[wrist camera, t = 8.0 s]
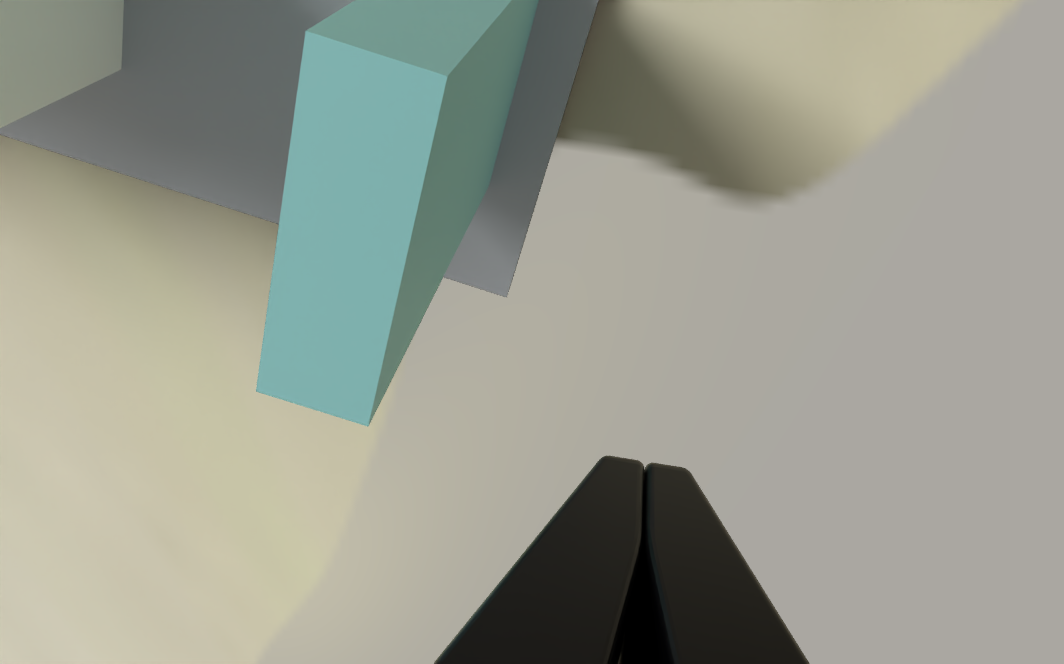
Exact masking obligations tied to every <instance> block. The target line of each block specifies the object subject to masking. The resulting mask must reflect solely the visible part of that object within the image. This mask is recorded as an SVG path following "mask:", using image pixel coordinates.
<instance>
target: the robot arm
mask: <svg viewBox="0 0 1064 664" xmlns="http://www.w3.org/2000/svg"><path fill="white" fill-rule="evenodd" d="M434 664H809V662H808V660H807V659H806V658H805V656H804V654H803V653H802V651H801V649H800V648H799V646H798V644H797V643H796V641H795V640H794V638H793V636H792V635H791V633H790V632H789V630H788V628H787V627H786V625H785V623H784V622H783V620H782V619H781V617H780V616H779V614H778V612H777V611H776V609H775V607H774V606H773V604H772V603H771V601H770V599H769V598H768V596H767V595H766V593H765V591H764V590H763V588H762V587H761V585H760V583H759V582H758V580H757V579H756V577H755V575H754V574H753V572H752V571H751V569H750V567H749V566H748V564H747V563H746V561H745V559H744V558H743V556H742V555H741V553H740V551H739V550H738V548H737V546H736V545H735V543H734V542H733V540H732V539H731V537H730V535H729V534H728V532H727V530H726V529H725V527H724V526H723V524H722V522H721V521H720V519H719V518H718V516H717V515H716V513H715V511H714V510H713V508H712V506H711V505H710V503H709V502H708V500H707V498H706V497H705V495H704V494H703V492H702V490H701V489H700V487H699V485H698V484H697V482H696V481H695V479H694V478H693V476H692V474H691V473H690V472H689V471H688V470H687V469H685V468H682V467H676V466H670V465H663V464H658V463H650V464H648V465H647V466H646V467H645V470H644V466H643V464H642V463H641V462H640V461H638V460H632V459H626V458H620V457H614V456H604V457H602V458H601V459H600V460H599V461H598V462H597V463H596V465H595V466H594V467H593V468H592V470H591V471H590V472H589V473H588V474H587V476H586V477H585V478H584V479H583V481H582V482H581V483H580V484H579V486H578V487H577V488H576V489H575V490H574V492H573V493H572V494H571V495H570V497H569V498H568V499H567V500H566V501H565V503H564V504H563V505H562V507H561V508H560V509H559V510H558V511H557V513H556V514H555V515H554V516H553V517H552V519H551V520H550V521H549V522H548V524H547V525H546V526H545V527H544V529H543V530H542V531H541V532H540V533H539V535H538V536H537V537H536V538H535V540H534V541H533V542H532V543H531V544H530V546H529V547H528V548H527V549H526V551H525V552H524V553H523V554H522V555H521V557H520V558H519V559H518V560H517V562H516V563H515V564H514V565H513V567H512V568H511V569H510V570H509V571H508V573H507V574H506V575H505V577H504V578H503V579H502V580H501V581H500V582H499V584H498V585H497V586H496V587H495V589H494V590H493V591H492V592H491V593H490V595H489V596H488V597H487V598H486V600H485V601H484V602H483V604H482V605H481V606H480V607H479V608H478V609H477V611H476V612H475V613H474V614H473V616H472V617H471V618H470V619H469V621H468V622H467V623H466V624H465V626H464V627H463V628H462V629H461V630H460V632H459V633H458V634H457V635H456V636H455V638H454V639H453V640H452V641H451V643H450V644H449V645H448V646H447V648H446V649H445V650H444V651H443V652H442V654H441V655H440V656H439V657H438V659H437V660H436V661H435V663H434Z"/></svg>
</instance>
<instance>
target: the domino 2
mask: <svg viewBox="0 0 1064 664" xmlns="http://www.w3.org/2000/svg"><path fill="white" fill-rule="evenodd" d="M538 1H539V0H355V1H353V2H351V3H350V4H348V5H347V6H345V7H343V8H342V9H340V10H338V11H337V12H335V13H334V14H332V15H330V16H329V17H327V18H326V19H324V20H322V21H321V22H319V23H317V24H316V25H314V26H313V27H311V28H309V29H308V30H306V32H305V39H304V46H303V54H302V61H301V68H300V75H299V83H298V90H297V97H296V104H295V112H294V119H293V126H292V133H291V141H290V148H289V155H288V163H287V170H286V177H285V184H284V192H283V199H282V206H281V213H280V221H279V228H278V235H277V242H276V250H275V257H274V264H273V271H272V279H271V286H270V293H269V300H268V308H267V315H266V322H265V329H264V337H263V344H262V351H261V359H260V366H259V373H258V380H257V388H256V392H259V393H263V394H266V395H269V396H272V397H275V398H279V399H282V400H285V401H288V402H291V403H295V404H298V405H301V406H304V407H307V408H311V409H314V410H317V411H320V412H324V413H327V414H330V415H333V416H336V417H340V418H343V419H346V420H349V421H352V422H356V423H359V424H362V425H365V426H369V424H370V422H371V420H372V418H373V416H374V414H375V412H376V410H377V408H378V406H379V404H380V402H381V400H382V398H383V396H384V394H385V392H386V390H387V388H388V386H389V384H390V382H391V380H392V378H393V376H394V374H395V372H396V370H397V368H398V366H399V364H400V362H401V360H402V358H403V356H404V354H405V352H406V350H407V348H408V346H409V344H410V342H411V340H412V338H413V336H414V334H415V332H416V330H417V328H418V326H419V324H420V322H421V320H422V318H423V316H424V314H425V312H426V310H427V308H428V306H429V304H430V302H431V300H432V298H433V296H434V294H435V292H436V290H437V288H438V286H439V284H440V282H441V280H442V278H443V276H444V274H445V272H446V270H447V268H448V266H449V264H450V262H451V260H452V258H453V256H454V254H455V252H456V250H457V249H458V247H459V245H460V243H461V241H462V239H463V237H464V235H465V233H466V231H467V229H468V227H469V225H470V223H471V221H472V219H473V217H474V215H475V213H476V211H477V209H478V207H479V205H480V203H481V201H482V199H483V197H484V195H485V193H486V191H487V189H488V187H489V184H490V180H491V176H492V172H493V169H494V165H495V161H496V158H497V154H498V150H499V146H500V143H501V139H502V135H503V132H504V128H505V124H506V120H507V117H508V113H509V109H510V105H511V102H512V98H513V94H514V91H515V87H516V83H517V79H518V76H519V72H520V68H521V65H522V61H523V57H524V53H525V50H526V46H527V42H528V38H529V35H530V31H531V27H532V24H533V20H534V16H535V12H536V9H537V5H538Z"/></svg>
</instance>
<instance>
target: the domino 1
mask: <svg viewBox="0 0 1064 664" xmlns="http://www.w3.org/2000/svg"><path fill="white" fill-rule="evenodd" d="M123 12H124V0H0V128H2V127H4V126H6V125H8V124H10V123H12V122H14V121H16V120H18V119H20V118H22V117H24V116H26V115H29V114H31V113H33V112H35V111H37V110H39V109H41V108H43V107H45V106H47V105H49V104H51V103H53V102H55V101H57V100H59V99H61V98H64V97H66V96H68V95H70V94H72V93H74V92H76V91H78V90H80V89H82V88H84V87H86V86H88V85H90V84H92V83H94V82H96V81H99V80H101V79H103V78H105V77H107V76H109V75H111V74H113V73H115V72H117V71H119V70H121V66H122V39H123Z"/></svg>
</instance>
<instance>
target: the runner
mask: <svg viewBox="0 0 1064 664" xmlns="http://www.w3.org/2000/svg"><path fill="white" fill-rule="evenodd" d="M353 1H355V0H124V12H123V39H122V66H121V70H119V71H117V72H115V73H113V74H111V75H109V76H107V77H105V78H103V79H101V80H99V81H96V82H94V83H92V84H90V85H88V86H86V87H84V88H82V89H80V90H78V91H76V92H74V93H72V94H70V95H68V96H66V97H64V98H61V99H59V100H57V101H55V102H53V103H51V104H49V105H47V106H45V107H43V108H41V109H39V110H37V111H35V112H33V113H31V114H29V115H26V116H24V117H22V118H20V119H18V120H16V121H14V122H12V123H10V124H8V125H6V126H4V127H2V128H0V135H3V136H6V137H9V138H12V139H15V140H18V141H21V142H25V143H28V144H31V145H34V146H37V147H40V148H43V149H46V150H49V151H52V152H56V153H59V154H62V155H65V156H68V157H71V158H74V159H77V160H80V161H84V162H87V163H90V164H93V165H96V166H99V167H102V168H105V169H108V170H112V171H115V172H118V173H121V174H124V175H127V176H130V177H133V178H136V179H140V180H143V181H146V182H149V183H152V184H155V185H158V186H161V187H164V188H168V189H171V190H174V191H177V192H180V193H183V194H186V195H189V196H192V197H196V198H199V199H202V200H205V201H208V202H211V203H214V204H217V205H220V206H224V207H227V208H230V209H233V210H236V211H239V212H242V213H245V214H248V215H252V216H255V217H258V218H261V219H264V220H267V221H270V222H273V223H276V224H279V221H280V213H281V206H282V199H283V192H284V184H285V177H286V170H287V163H288V155H289V148H290V141H291V133H292V126H293V119H294V112H295V104H296V97H297V90H298V83H299V75H300V68H301V61H302V54H303V46H304V39H305V32H306V30H308V29H309V28H311V27H313V26H314V25H316V24H317V23H319V22H321V21H322V20H324V19H326V18H327V17H329V16H330V15H332V14H334V13H335V12H337V11H338V10H340V9H342V8H343V7H345V6H347V5H348V4H350V3H351V2H353ZM598 1H599V0H539V1H538V5H537V9H536V12H535V16H534V20H533V24H532V27H531V31H530V35H529V38H528V42H527V46H526V50H525V53H524V57H523V61H522V65H521V68H520V72H519V76H518V79H517V83H516V87H515V91H514V94H513V98H512V102H511V105H510V109H509V113H508V117H507V120H506V124H505V128H504V132H503V135H502V139H501V143H500V146H499V150H498V154H497V158H496V161H495V165H494V169H493V172H492V176H491V180H490V184H489V187H488V189H487V191H486V193H485V195H484V197H483V199H482V201H481V203H480V205H479V207H478V209H477V211H476V213H475V215H474V217H473V219H472V221H471V223H470V225H469V227H468V229H467V231H466V233H465V235H464V237H463V239H462V241H461V243H460V245H459V247H458V249H457V250H456V252H455V254H454V256H453V258H452V260H451V262H450V264H449V266H448V268H447V270H446V272H445V274H444V276H443V277H444V278H447V279H451V280H454V281H457V282H460V283H463V284H466V285H469V286H472V287H476V288H479V289H482V290H485V291H488V292H491V293H494V294H497V295H500V296H503V297H507V294H508V292H509V288H510V285H511V282H512V279H513V276H514V272H515V269H516V266H517V263H518V259H519V256H520V253H521V250H522V247H523V243H524V240H525V237H526V234H527V231H528V227H529V224H530V221H531V218H532V214H533V211H534V208H535V205H536V201H537V198H538V195H539V192H540V189H541V185H542V182H543V179H544V176H545V172H546V169H547V166H548V163H549V159H550V156H551V153H552V150H553V146H554V143H555V140H556V137H557V134H558V130H559V127H560V124H561V121H562V117H563V114H564V111H565V108H566V104H567V101H568V98H569V95H570V92H571V88H572V85H573V82H574V79H575V75H576V72H577V69H578V66H579V62H580V59H581V56H582V53H583V49H584V46H585V43H586V40H587V37H588V33H589V30H590V27H591V24H592V20H593V17H594V14H595V11H596V7H597V4H598Z"/></svg>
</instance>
